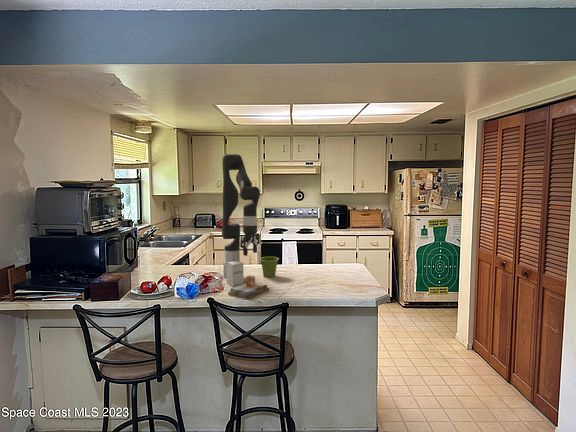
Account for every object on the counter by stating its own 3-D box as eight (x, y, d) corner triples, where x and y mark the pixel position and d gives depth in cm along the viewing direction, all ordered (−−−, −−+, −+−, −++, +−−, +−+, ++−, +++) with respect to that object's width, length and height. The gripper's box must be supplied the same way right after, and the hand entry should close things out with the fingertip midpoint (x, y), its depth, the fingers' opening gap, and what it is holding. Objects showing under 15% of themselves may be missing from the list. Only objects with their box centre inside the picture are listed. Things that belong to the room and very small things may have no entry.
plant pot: (256, 277, 247) (256, 259, 245) (266, 273, 257) (266, 255, 256) (272, 279, 241) (272, 261, 240) (282, 275, 252) (282, 257, 250)
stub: (241, 288, 217) (240, 276, 216) (245, 287, 221) (245, 274, 220) (254, 291, 213) (254, 278, 212) (258, 289, 216) (258, 277, 215)
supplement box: (232, 286, 228) (232, 264, 226) (226, 283, 234) (226, 262, 232) (243, 284, 232) (243, 262, 231) (237, 281, 238) (237, 260, 236)
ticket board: (228, 294, 212) (228, 288, 211) (248, 286, 227) (248, 280, 227) (249, 299, 205) (249, 292, 204) (269, 290, 220) (269, 283, 220)
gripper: (252, 222, 221) (252, 251, 223) (236, 225, 209) (236, 255, 211) (263, 223, 217) (263, 252, 219) (247, 226, 205) (248, 257, 207)
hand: (250, 254), depth 215 cm, fingers open, 8 cm apart
